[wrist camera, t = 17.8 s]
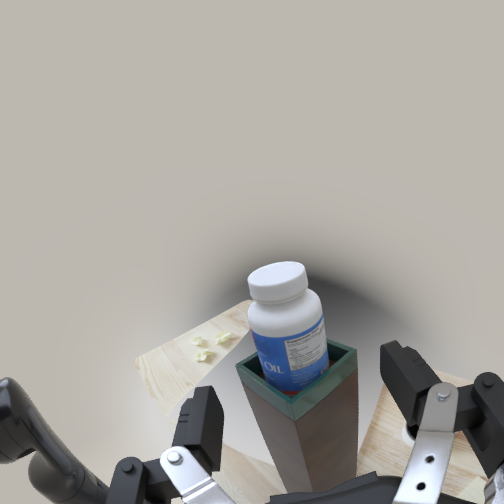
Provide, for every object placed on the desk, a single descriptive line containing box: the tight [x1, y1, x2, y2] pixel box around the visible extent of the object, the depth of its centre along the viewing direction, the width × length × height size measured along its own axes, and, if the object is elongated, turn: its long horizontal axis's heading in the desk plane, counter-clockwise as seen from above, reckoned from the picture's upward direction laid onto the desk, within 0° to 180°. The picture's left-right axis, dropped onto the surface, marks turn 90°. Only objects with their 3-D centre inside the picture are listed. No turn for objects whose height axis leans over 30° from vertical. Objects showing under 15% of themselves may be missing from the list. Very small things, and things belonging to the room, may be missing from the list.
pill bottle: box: [248, 262, 329, 397], centre depth 20 cm, size 6×5×10 cm
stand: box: [242, 360, 358, 493], centre depth 25 cm, size 7×7×27 cm
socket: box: [235, 338, 358, 421], centre depth 21 cm, size 7×7×2 cm
